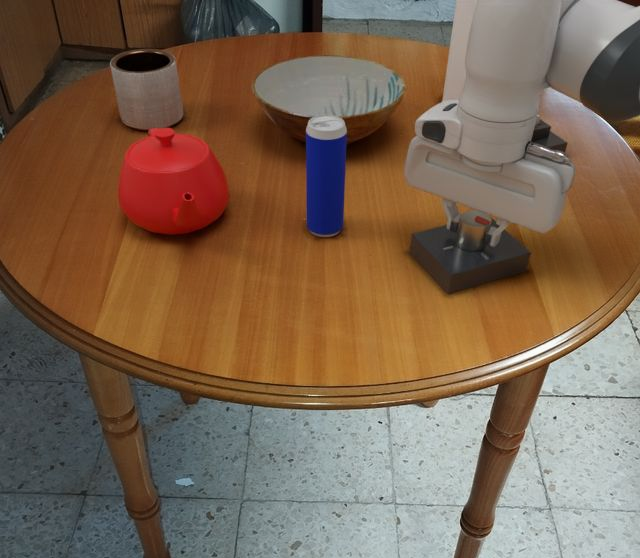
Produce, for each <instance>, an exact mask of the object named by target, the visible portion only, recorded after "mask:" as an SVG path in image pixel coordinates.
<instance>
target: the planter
mask: <svg viewBox="0 0 640 558" xmlns="http://www.w3.org/2000/svg"><path fill="white" fill-rule="evenodd" d="M109 67H110V71H111V77H112V82H113V86H114V92H115V98H116V102H117V107H118V113H119V117H120V120H121V122H122V123H123V124H124V125H125V126H127V127H128V128H131V129H134V130H136V131H141V132H149V130H151V129H153V128H158V129H160V128H172V127H174V126H176V125H177V124H178V123H179V122H180V121H182V119H183V117H184V105H183V99H182V92H181V87H180V80H179V73H178V67H177V60H176V57H175V56H174V54H172V53H170V52H168V51H166V50H163V49H157V48H156V49H155V48H139V49H131V50H128V51H124V52H121V53H119V54H117V55H115V56H114V57H112V58H111V60H110V61H109ZM121 118H122V119H121ZM123 120H124V121H125V122H127V123H129V124H127V123H125V122H124V121H123ZM130 124H132V125H130ZM133 125H136V126H133ZM138 126H141V127H138ZM156 126H157V127H156Z"/></svg>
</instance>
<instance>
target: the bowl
mask: <svg viewBox="0 0 640 558" xmlns="http://www.w3.org/2000/svg"><path fill="white" fill-rule="evenodd" d="M250 85H251V87H250V88H251V91H252V95H254V97H255V99H256V101H257V103H258V105H259V106H260V108H261V109H262V111H263V113H264V114H265V115H266V116H267V118H268V119H269V120H270V121H271V122H272V123H273V125H275V126H276V127H277V128H278V129H280V130H281V131H282V132H284V133H285V134H286V135H289V136H291V137H292V138H294V139H297V140H298V141H300V142H302V143H304V144H306V128H307V125H308V122H309V120H310V119H311V118H313V117H315V116H318V115H334V116H337V117H340V118H341V119H343V120H344V122H345V125H346V129H347V141H346V146H348V145H350V144H353V143H356V142H357V141H359V140H361V139H363V138H366V137H368V136H370V135H371V134H373V133H374V132H376V131H377V130H378V129H379V128H380V127H382V126H383V125H384V124H385V123H386V122H387V121H388V120H389V118H390V117H391V116H392V115H393V114H394V113H395V111H396V110H397V108H398V107H399V105H400V104H401V102H402V100H403V98H404V96H405V94H406V91H407V84H406V81H405V80H404V78H403V77H402V75H400V73H398V72H397V71H396V70H394V69H392V68H391V67H389V66H387V65H384V64H382V63H380V62H377V61H373V60H371V59H370V60H369V59H366V58H362V57H361V58H360V57H356V56H350V55H348V56H347V55H338V54H337V55H336V54H317V55H305V56H298V57H294V58H289V59H284V60H282V61H278V62H275V63H273V64H270V65H269V66H266V67H264V68H263V69H261V70H260V71H259V72H257V73H256V75H255V76H254V77H253V79H252V80H251V84H250Z"/></svg>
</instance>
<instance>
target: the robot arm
mask: <svg viewBox="0 0 640 558" xmlns="http://www.w3.org/2000/svg"><path fill="white" fill-rule="evenodd" d="M465 68H466V80H465V84H464V87H463V89H462V91H461V94H460V97H459V100H447V101H443V102H442V101H441V102H438V103H437V104H435V105H433V106H432V107H431V108H429V109H428V110H426V111H425V112H424V113H423V114H421V115H420V116H419V117H418V118H417V119H416V120H415V123H414V133H415V135H416V136H413V138H411V141H410V142H409V145H408V147H407V153H406V157H405V163H404V171H403V178H404V179H405V181H406V183H407V185H408V186H409V187H411V188H414V189H417V190H420V191H422V192H425V193H428V194H430V195H434V196H436V197H439V198H442V201H441V206H442V208H443V211H444V214H445V216H446V219H447V222H446V225H447V227H446V229H447V230H450V231H452V232H455V233H457V228H458V223H459V217H460V215H461V213H459V209H458V206H457V204H459V205H461V206H464V207H466V208H469V209H471V210H477V211H481V212H483V213H486V214H488V215H489V216H491V217H495V218H496V224H497V225H500V226H499V227H498V228H495V227H491V228H490V229H489V230H488V231H487V232H486V233H485V239H484V242H483V243H484V244H487V245H490V246H492V247H495V246H496V245H497V244H498V243H499V240H500V237H501V233H502V231H503V230H504V229H505V230H506V229H507V227H509V226H510V225H511V224H514V225H517V226H519V227H523V228H525V229H527V230H531V231H534V232H536V233H539V234H546V233H548V232H549V231H551V230H553V229H554V228H555V227H556V226H557V225H558V224H559V222H560V221H561V220H562V217H563V215H564V210H565V206H566V201H567V194H568V191H569V190H570V189H571V187H572V185H573V182H574V179H575V175H576V166H575V163H574V162H573V161H572V159H571V158H569V157H568V154H567V152H565V153H564V152H562V151H558V150H556V151H555V150H552V149H549V148H547V147H545V146H542V145H539V144H536V143H532V142H531V139H532V135H533V131H534V127H535V123H536V119H537V115H539V111H540V107H541V105H540V104H541V102H540V101H541V100H540V98H541V97H540V93H541V92H542V91H544V90H546V89H552V90H554V91H556V92H558V93H560V94H562V95H564V96H566V97H568V98H570V99H572V100H574V101H576V102H578V103H579V104H581V105H582V106H583V107H584V108H586V109H588V110H589V111H591V112H592V113H593V114H595V115H597V116H598V117H600V118H601V119H603V121H606V122H608V123H610V124H611V123H612V124H616V123H617V124H618V123H621V122H625V121H628V120H632V119H635V118H637V117H639V116H640V5H637V6H634V5H631V4H628V3H625V2H623V1H620V0H477V3H476V7H475V11H474V14H473V19H472V23H471V28H470V33H469V38H468V44H467V50H466V57H465Z"/></svg>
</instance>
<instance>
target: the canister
mask: <svg viewBox="0 0 640 558" xmlns="http://www.w3.org/2000/svg"><path fill="white" fill-rule="evenodd" d="M476 3H477V0H455V7H454V15H453V21H452V27H451V36H450V41H449V42H450V43H449V49H448V50H449V51H448V57H447V62H446V63H447V65H446V70H445V71H446V72H445V78H444V86H443V92H442V100H441V102H443V101H447V100H459V97H460V94H461V91H462V89H463V87H464V84H465V80H466V68H465V57H466V50H467V44H468V38H469V33H470V28H471V23H472V19H473V14H474V11H475V7H476Z"/></svg>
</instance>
